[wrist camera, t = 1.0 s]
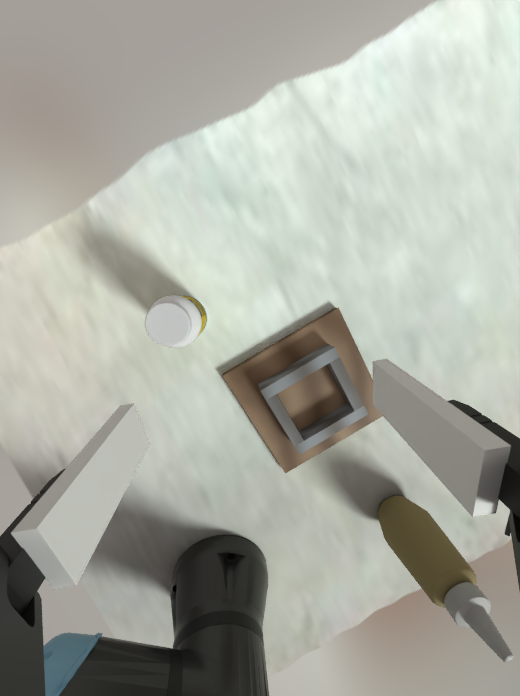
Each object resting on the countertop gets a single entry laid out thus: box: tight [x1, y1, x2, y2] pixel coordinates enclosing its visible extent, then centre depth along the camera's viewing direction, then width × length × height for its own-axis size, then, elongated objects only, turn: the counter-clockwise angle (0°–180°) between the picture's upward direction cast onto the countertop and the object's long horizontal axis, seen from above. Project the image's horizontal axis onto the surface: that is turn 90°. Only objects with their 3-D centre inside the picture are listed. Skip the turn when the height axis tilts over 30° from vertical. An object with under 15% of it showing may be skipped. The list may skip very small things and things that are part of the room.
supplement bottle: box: [145, 295, 207, 348], centre depth 27 cm, size 5×5×10 cm
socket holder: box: [223, 308, 383, 473], centre depth 34 cm, size 18×18×4 cm
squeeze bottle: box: [378, 495, 513, 662], centre depth 34 cm, size 8×8×18 cm
